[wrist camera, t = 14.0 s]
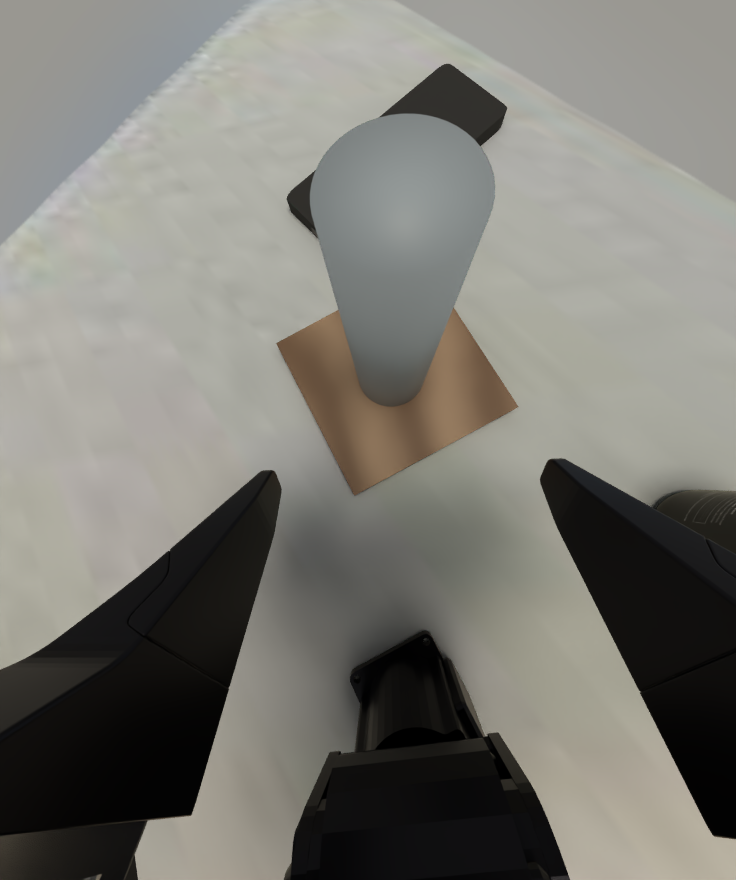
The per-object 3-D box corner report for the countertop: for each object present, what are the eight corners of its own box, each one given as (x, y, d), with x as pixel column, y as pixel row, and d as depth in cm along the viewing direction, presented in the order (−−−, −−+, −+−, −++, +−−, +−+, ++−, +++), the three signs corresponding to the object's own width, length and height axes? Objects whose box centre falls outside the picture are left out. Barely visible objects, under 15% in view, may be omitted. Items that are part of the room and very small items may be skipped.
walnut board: (355, 494, 21) (354, 495, 20) (280, 349, 24) (276, 343, 23) (512, 410, 22) (518, 406, 21) (423, 272, 24) (424, 263, 23)
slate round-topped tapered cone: (389, 420, 21) (397, 311, 7) (344, 374, 22) (273, 195, 8) (438, 374, 21) (535, 185, 7) (392, 330, 22) (403, 83, 8)
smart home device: (281, 194, 24) (445, 57, 25) (288, 212, 26) (441, 84, 27) (342, 253, 23) (512, 107, 24) (345, 268, 25) (504, 132, 26)
